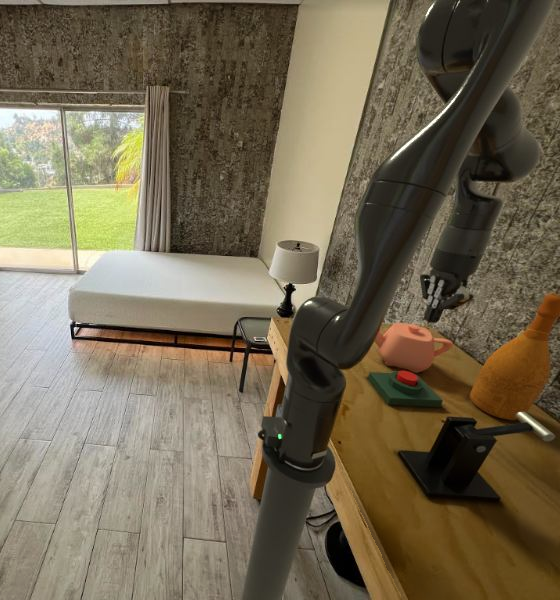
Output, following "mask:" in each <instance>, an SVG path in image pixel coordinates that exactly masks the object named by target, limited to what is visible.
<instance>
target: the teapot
mask: <svg viewBox="0 0 560 600" xmlns="http://www.w3.org/2000/svg"><path fill="white" fill-rule="evenodd" d="M374 343H375V345H376V346H378V352H379V354H380V357H381V359H382V360H383V361H384V364H385V365H386V366H388V367H389V366H390V367H397V368H401V369H404V370H409V372H411V373H414V374H418V373H420V372H424V371H426V370H428V369H429V368H430V367H431V366H432V364H433V362H434V358H435V357H438V356H440V355H442V354H444V353H447V352H448V351H449V350H450V349H452V348H453V346H454V343H453V341H451V340H450V339H446V338H440V337H439V338H438V337H433V334H432V333H431V331H430V330H429V329H427V328H426V327H423V326H420V325H418V324H415V323H405V322H395V323H394V324H392V325H391V326H390V327H389V329H387V330H386V332H385V333H384V334H382V333H381V329H380V330H379V332H378V334H377V337H376V339H375V341H374ZM435 343H440V344H442V345H441V346H440V347H439V348H437V349H436V350H435Z"/></svg>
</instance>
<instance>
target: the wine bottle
mask: <svg viewBox="0 0 560 600" xmlns="http://www.w3.org/2000/svg"><path fill="white" fill-rule="evenodd" d="M536 313H537V315H536V316H535V318H534V319H533V321H532V322H531V323H530V324H529V325H528V327H527V328H526V329H525V330H520V332H519V333H518V334H517V336H516V337H514V338H513V339H511V340H509V341H508V342H506V343H504V344H503V345H502V346H500V347H498V349H496V350H495V351H494V352H492V353H491V355H489V357H488V358H487V359H486V361H485V362H484V364H483V366H482V368H481V370H480V371H479V373H478V376H477V377H476V379H475V381H474V384H473V386H472V388H471V390H470V394H469V399H470V401H471V402H472V403H473V405H475V406H476V407H477V409H479V410H481V411H483V412H485V413H486V414H488V415H491V416H493V417H496V418H499V419H504V420H507V421H516V420H518V419H517V418H516V417H515V415H516V414H517V413H518V412H526V413H527V414H528V412H529V410H530V409H531V408H532V406H533V405H534V403H535V402H536V400H537V399H538V397H539V396H540V395H541V393H542V392H543V390H544V388H545V387H546V385H547V383H548V381H549V378H550V375H551V355H550V354H551V353H550V348H549V337H550V334H551V330H552V327H553V325H554V324H555V322H556V321H557V320H558V318H560V293H556V292H555V293H553V292H551V293H548V294H546V295H545V296H544V297H543V301H542V302H541V304H540V305H539V306H538V307H537V310H536Z"/></svg>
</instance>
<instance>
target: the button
mask: <svg viewBox="0 0 560 600" xmlns="http://www.w3.org/2000/svg"><path fill="white" fill-rule="evenodd" d="M398 371H399V372H398V375H397V377H396V379H397V380H398V381H399V382H401V383H403V384H406V385H409V386H415V385H416V382H417V380H418V377H417V376H416V375H415V374H416V373H414V372H412V371H407V370H398Z"/></svg>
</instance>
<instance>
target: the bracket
mask: <svg viewBox="0 0 560 600" xmlns="http://www.w3.org/2000/svg"><path fill="white" fill-rule="evenodd" d="M477 423H478V421H477V420H476V419H475V418H474V417H465V416H447V417H446V419H445V421H444V422H443V424H442V427H441V429H440V430H439V433H438V434H437V436H436V438H435V440H434V442H433V444H432V445H431V448H430V450H429V451H420V450H419V451H418V450H402V449H398V452H397V456H398V457H399V459H400V461H401V462H402V463H403V465H404V466H405V468H406V469H407V470H408V472H409V473H410V475H411V476H412V478H413V479H414V481H415V482H416V483H417V485H418V487H419V488H420V489H421V491H422V493H423V494H424V495H425V497H426V498H434V499H435V498H437V499H438V498H439V499H447V500H448V499H450V500H464V501H478V502H489V503H490V502H491V503H499V502H500V500H501V499H502V497H501V496H500V495H499V494H498V492H496V490H494V488H493V487H492V486H491V485H490V484H489V483H488V482H487V480H485V478H484V477H483V476H482V475H481V474H480V473H479V470H480V468H481V467H482V466H483V464H484V463H485V461H486V459H487V457H488V456H489V455H490V453H491V451H492V449H493V448H494V446H495V445H496V443H497V441H498V440H497V439H496V437H495V436H489V435H472V434H465V435H464V436H463V438H462V440H461V442H460V443H459V442H458V441H457V439H456V438H455V437H454V436H453V434H454V427H456V426H463V425H470V424H472V425H473V426H474V427H475V428H476V426H477Z"/></svg>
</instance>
